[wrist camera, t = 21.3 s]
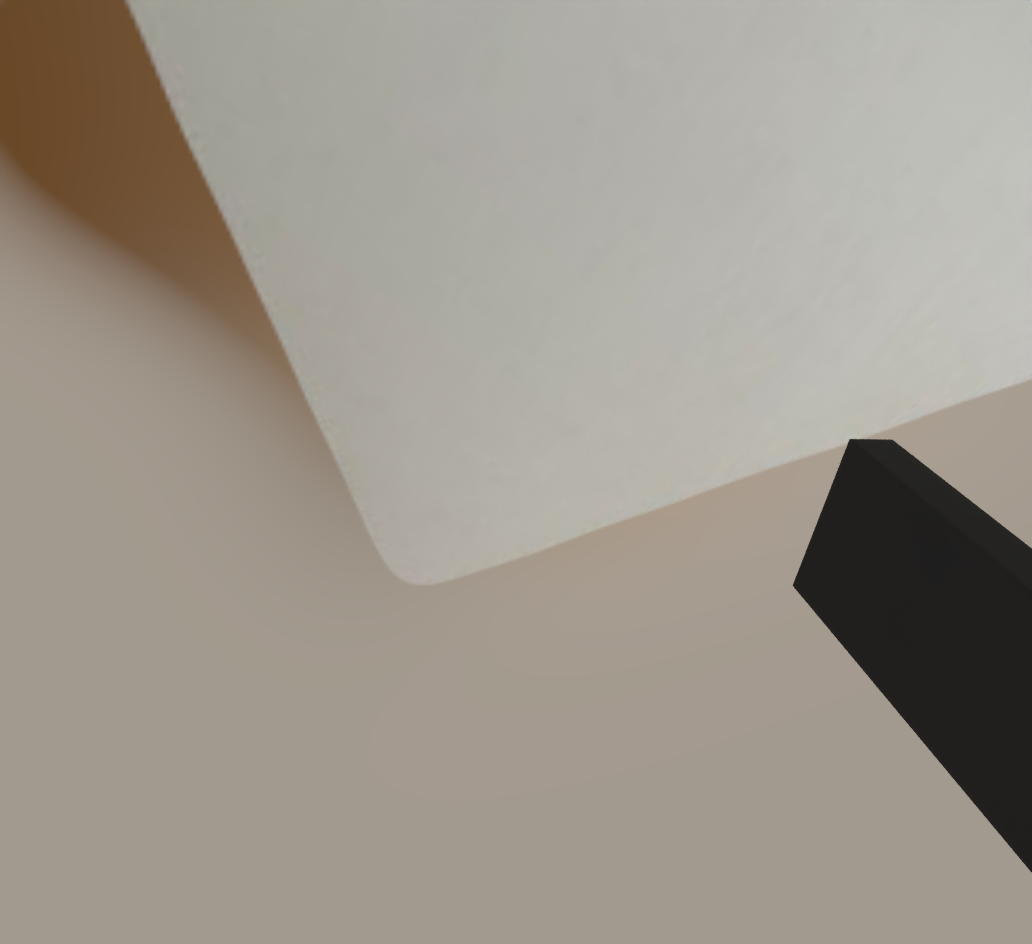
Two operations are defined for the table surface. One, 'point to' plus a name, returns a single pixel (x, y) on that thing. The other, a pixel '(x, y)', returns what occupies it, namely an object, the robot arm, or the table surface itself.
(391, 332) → the table surface
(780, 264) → the table surface
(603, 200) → the table surface
